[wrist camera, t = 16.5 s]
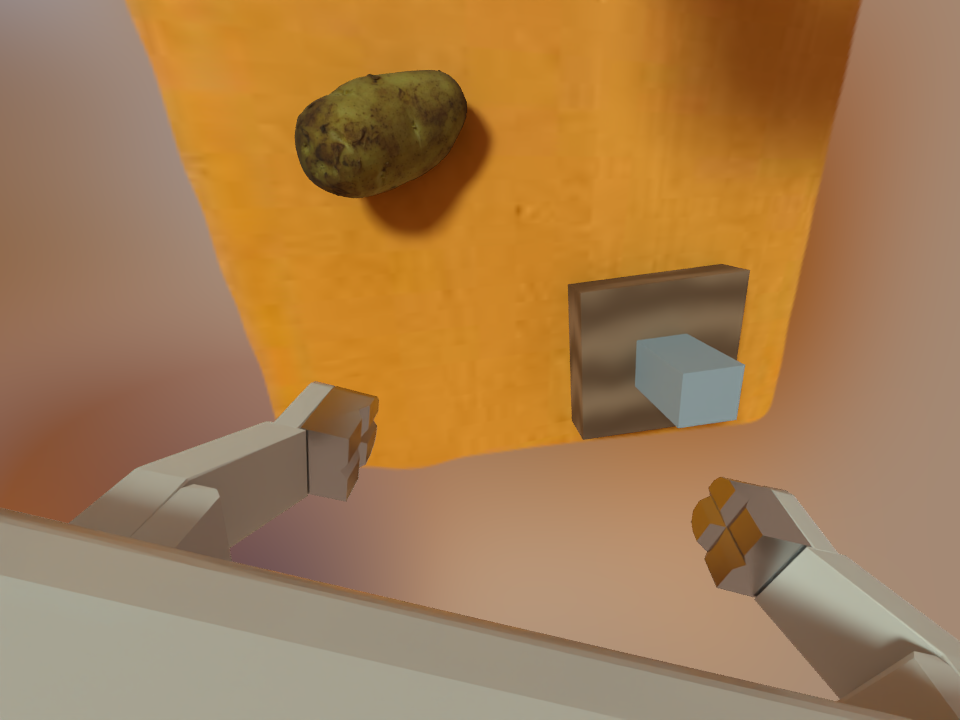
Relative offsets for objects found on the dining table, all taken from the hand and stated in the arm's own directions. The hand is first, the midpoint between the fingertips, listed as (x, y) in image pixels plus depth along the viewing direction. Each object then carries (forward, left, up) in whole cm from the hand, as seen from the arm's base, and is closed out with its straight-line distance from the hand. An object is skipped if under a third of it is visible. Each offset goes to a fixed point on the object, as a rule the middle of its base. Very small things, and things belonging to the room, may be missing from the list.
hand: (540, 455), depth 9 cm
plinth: (+11, +18, -31) cm, 37 cm away
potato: (-11, -5, -31) cm, 33 cm away
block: (+11, +18, -27) cm, 34 cm away
